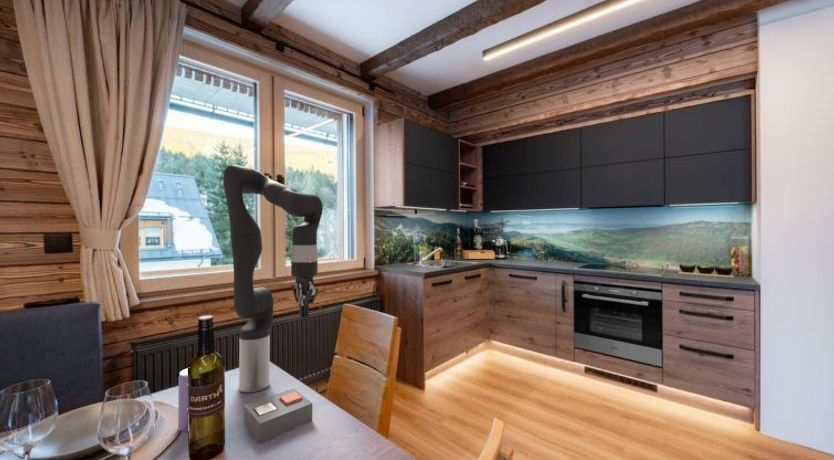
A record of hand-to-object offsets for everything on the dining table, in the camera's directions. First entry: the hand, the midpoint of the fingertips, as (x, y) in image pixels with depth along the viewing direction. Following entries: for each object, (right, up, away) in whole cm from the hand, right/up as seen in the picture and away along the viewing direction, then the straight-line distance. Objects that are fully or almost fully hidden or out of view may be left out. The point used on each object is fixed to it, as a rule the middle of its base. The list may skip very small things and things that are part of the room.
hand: (304, 317), depth 99 cm
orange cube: (-2, -26, -5) cm, 26 cm away
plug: (-7, -26, -10) cm, 29 cm away
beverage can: (-27, -27, -10) cm, 39 cm away
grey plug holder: (-4, -27, -8) cm, 28 cm away
